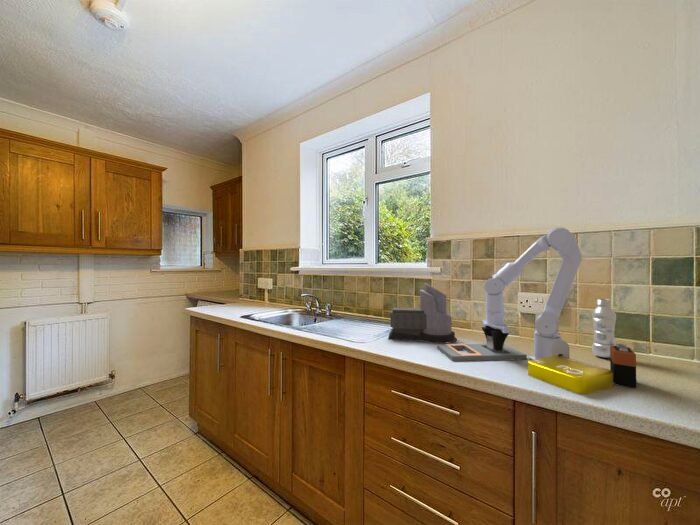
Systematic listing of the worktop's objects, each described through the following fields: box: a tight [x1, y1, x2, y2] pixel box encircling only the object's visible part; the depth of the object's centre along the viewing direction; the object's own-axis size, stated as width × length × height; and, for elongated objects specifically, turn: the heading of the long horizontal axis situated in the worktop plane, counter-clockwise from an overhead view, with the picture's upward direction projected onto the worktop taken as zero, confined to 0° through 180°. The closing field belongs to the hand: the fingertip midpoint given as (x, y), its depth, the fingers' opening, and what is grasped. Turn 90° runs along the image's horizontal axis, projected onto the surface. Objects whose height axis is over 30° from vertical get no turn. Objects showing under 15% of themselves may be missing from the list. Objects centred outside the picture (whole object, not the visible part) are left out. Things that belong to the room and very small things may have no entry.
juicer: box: [387, 282, 458, 344], centre depth 125 cm, size 30×16×24 cm, turn 79°
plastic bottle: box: [591, 298, 617, 359], centre depth 97 cm, size 6×7×20 cm
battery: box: [609, 343, 637, 389], centre depth 76 cm, size 4×7×10 cm, turn 143°
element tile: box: [527, 356, 615, 395], centre depth 78 cm, size 15×15×5 cm
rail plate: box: [436, 343, 528, 362], centre depth 102 cm, size 14×26×2 cm, turn 93°
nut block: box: [486, 335, 505, 354], centre depth 102 cm, size 4×4×6 cm
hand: (495, 348), depth 102 cm, fingers closed on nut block, 4 cm apart
